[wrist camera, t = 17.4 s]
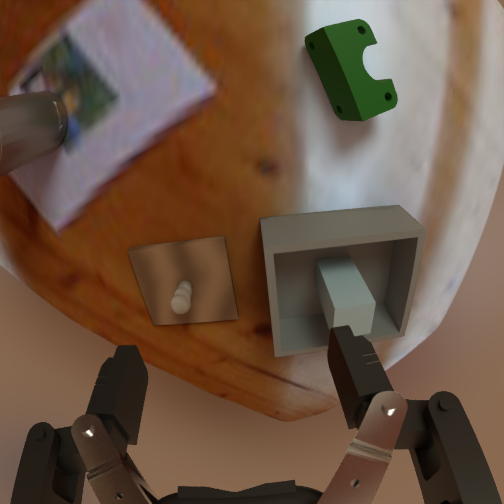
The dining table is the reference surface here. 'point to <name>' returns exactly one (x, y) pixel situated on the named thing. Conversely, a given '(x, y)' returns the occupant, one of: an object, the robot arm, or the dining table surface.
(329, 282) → the pale grey rectangular block
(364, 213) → the bin
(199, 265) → the stud block
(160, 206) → the dining table surface
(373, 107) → the clamp
